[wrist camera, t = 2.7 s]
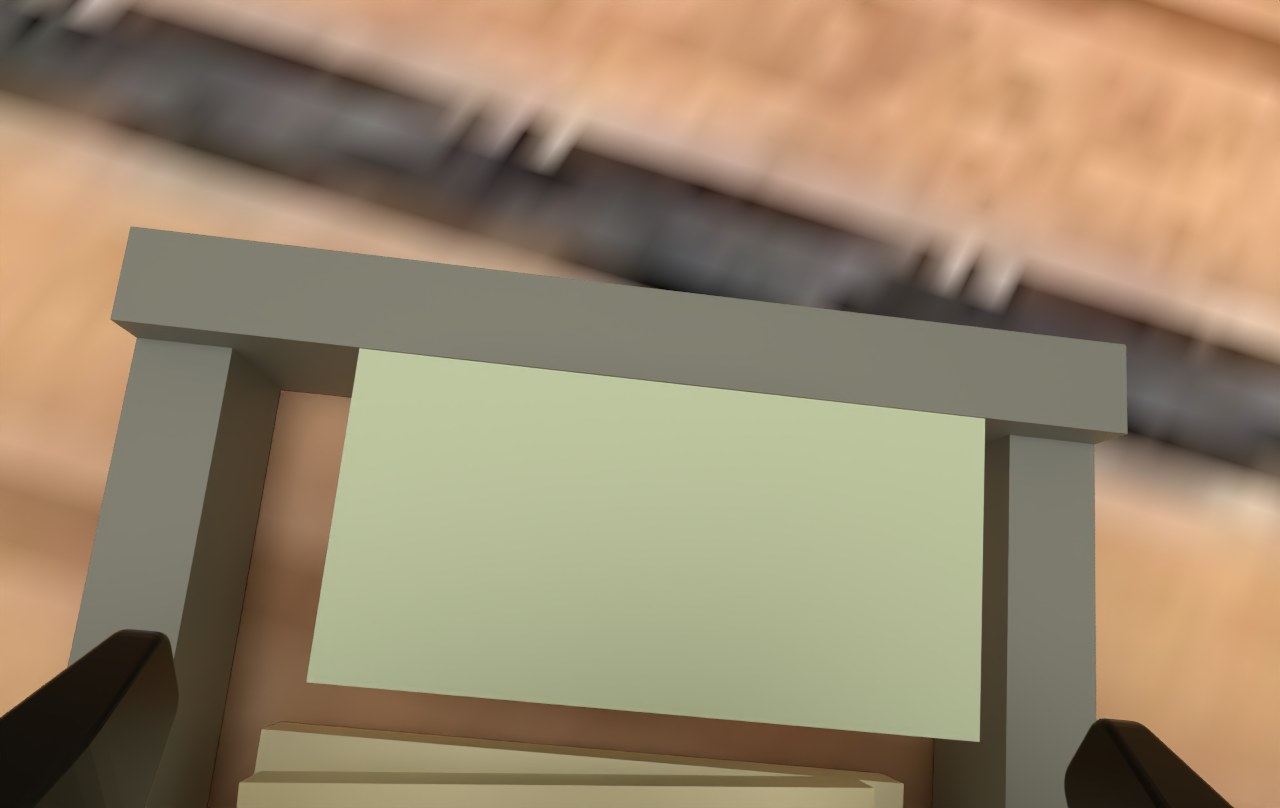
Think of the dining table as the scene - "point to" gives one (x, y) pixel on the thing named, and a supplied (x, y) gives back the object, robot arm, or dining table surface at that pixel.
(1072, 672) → the frame
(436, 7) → the dining table surface
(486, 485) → the green block
